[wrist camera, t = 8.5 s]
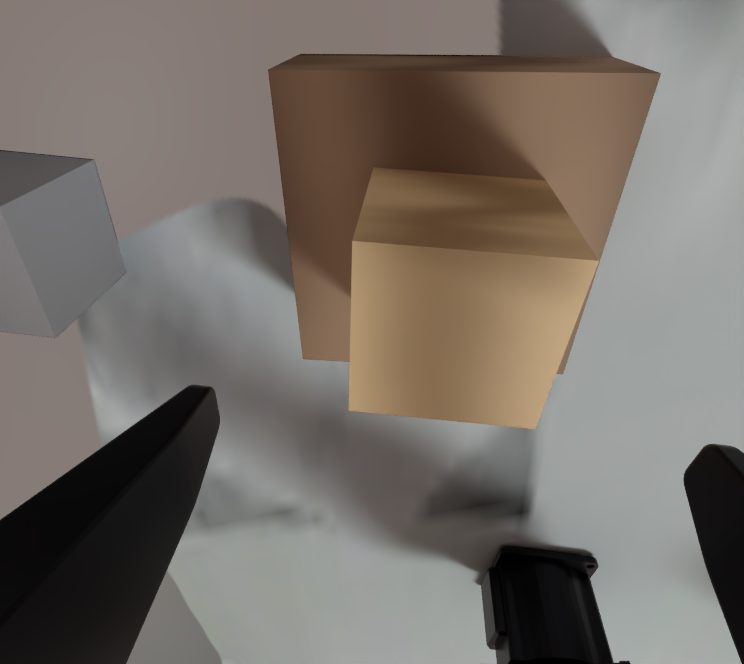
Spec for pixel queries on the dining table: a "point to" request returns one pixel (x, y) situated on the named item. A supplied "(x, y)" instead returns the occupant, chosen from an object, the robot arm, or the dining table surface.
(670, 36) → the dining table surface
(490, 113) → the walnut base
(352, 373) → the oak cube
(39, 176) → the grey cube
